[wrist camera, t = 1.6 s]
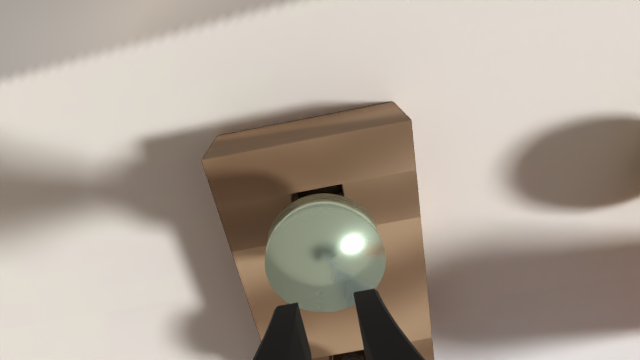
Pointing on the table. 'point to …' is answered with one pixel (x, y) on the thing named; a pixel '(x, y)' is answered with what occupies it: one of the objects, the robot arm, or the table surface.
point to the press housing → (357, 184)
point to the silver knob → (352, 356)
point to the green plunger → (324, 252)
